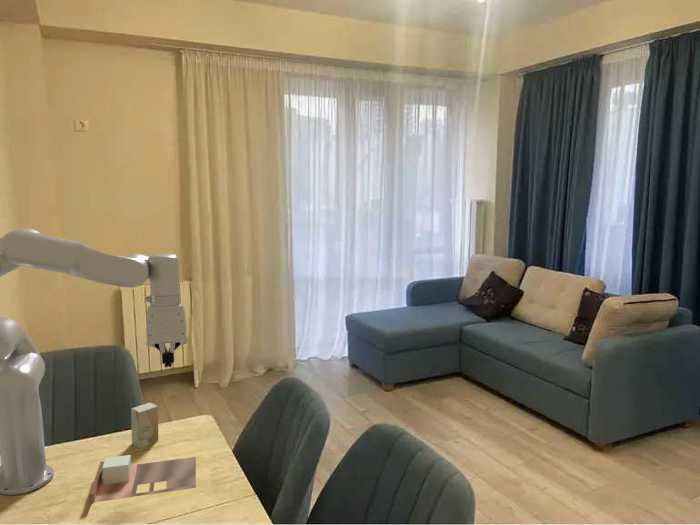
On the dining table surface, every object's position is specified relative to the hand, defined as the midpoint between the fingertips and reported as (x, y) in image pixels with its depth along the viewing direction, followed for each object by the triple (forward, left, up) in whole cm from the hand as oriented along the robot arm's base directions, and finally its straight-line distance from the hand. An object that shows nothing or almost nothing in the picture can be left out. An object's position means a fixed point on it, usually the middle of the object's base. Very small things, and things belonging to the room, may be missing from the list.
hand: (168, 365), depth 141 cm
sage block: (-13, -10, -25) cm, 30 cm away
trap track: (-6, -12, -27) cm, 30 cm away
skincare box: (-8, +8, -27) cm, 29 cm away
